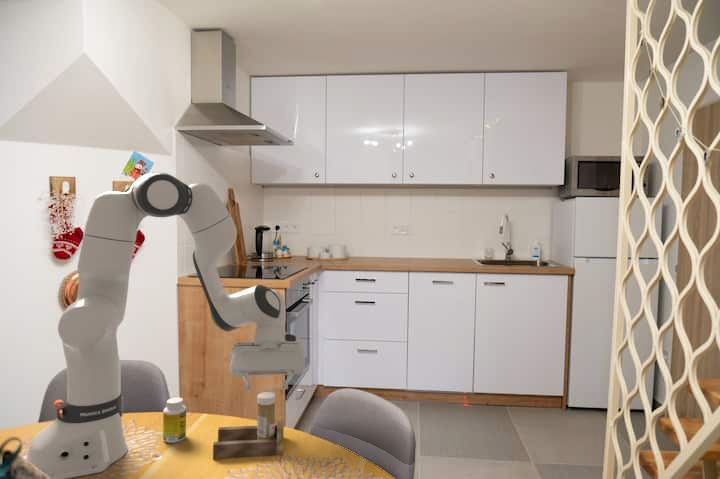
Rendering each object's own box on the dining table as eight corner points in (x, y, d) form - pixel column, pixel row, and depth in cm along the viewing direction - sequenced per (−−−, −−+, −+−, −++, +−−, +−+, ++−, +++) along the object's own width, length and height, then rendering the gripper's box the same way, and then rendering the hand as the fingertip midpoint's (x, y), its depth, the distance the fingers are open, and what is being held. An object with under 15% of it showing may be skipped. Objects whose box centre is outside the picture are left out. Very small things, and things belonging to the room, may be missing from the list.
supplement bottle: (182, 443, 117) (182, 404, 117) (159, 444, 116) (160, 404, 116) (188, 433, 122) (188, 395, 122) (167, 434, 122) (167, 396, 122)
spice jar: (277, 448, 116) (278, 395, 115) (260, 452, 113) (261, 399, 113) (270, 440, 119) (271, 390, 119) (253, 445, 117) (254, 393, 116)
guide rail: (213, 459, 110) (213, 440, 109) (218, 440, 119) (219, 423, 119) (283, 455, 112) (283, 437, 112) (283, 437, 122) (283, 420, 121)
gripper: (231, 337, 126) (225, 384, 117) (305, 336, 130) (305, 382, 120) (232, 348, 131) (227, 395, 122) (304, 347, 134) (304, 392, 125)
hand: (267, 388), depth 121 cm, fingers open, 8 cm apart
